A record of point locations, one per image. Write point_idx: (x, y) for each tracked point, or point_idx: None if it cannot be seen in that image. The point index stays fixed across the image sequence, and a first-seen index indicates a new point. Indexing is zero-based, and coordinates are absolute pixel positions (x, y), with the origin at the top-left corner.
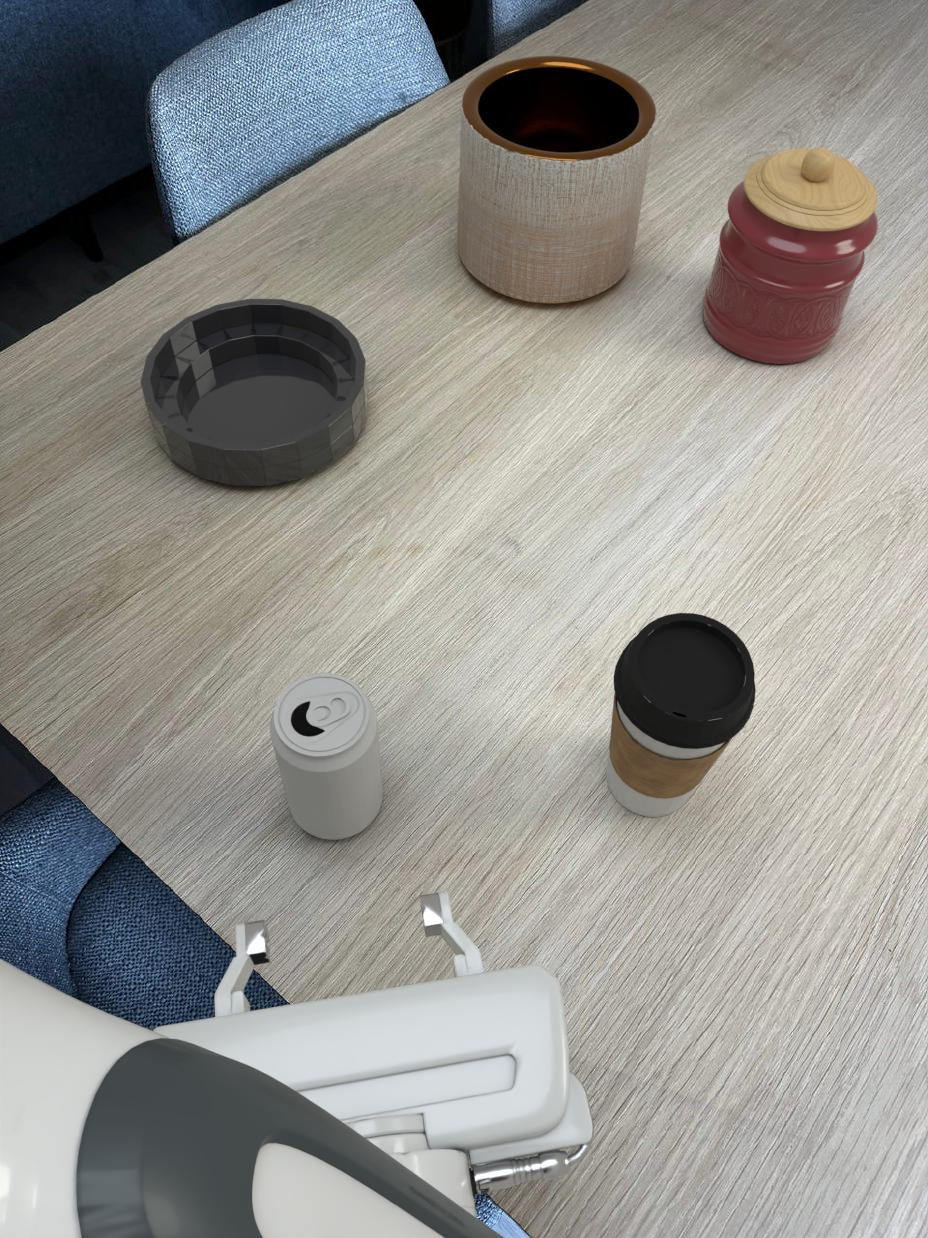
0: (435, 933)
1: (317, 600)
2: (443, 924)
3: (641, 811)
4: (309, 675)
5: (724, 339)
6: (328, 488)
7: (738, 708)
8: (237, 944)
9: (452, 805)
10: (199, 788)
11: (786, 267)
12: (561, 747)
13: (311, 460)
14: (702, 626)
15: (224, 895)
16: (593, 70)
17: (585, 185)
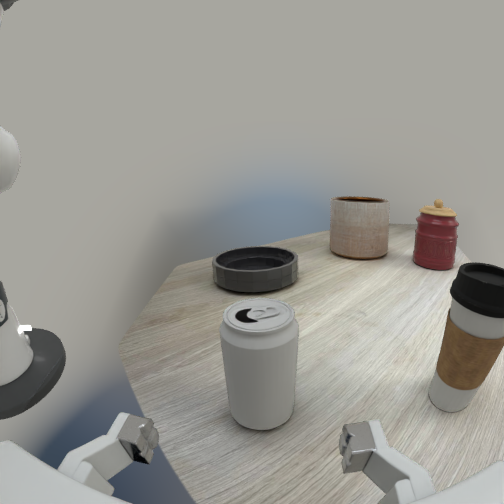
0: (357, 468)
1: None
2: (377, 450)
3: (453, 407)
4: (254, 298)
5: (423, 263)
6: (279, 296)
7: None
8: (113, 426)
9: (339, 418)
10: (182, 391)
11: (439, 230)
12: (402, 386)
13: (273, 283)
14: (484, 268)
15: (175, 445)
16: (368, 198)
17: (372, 211)
